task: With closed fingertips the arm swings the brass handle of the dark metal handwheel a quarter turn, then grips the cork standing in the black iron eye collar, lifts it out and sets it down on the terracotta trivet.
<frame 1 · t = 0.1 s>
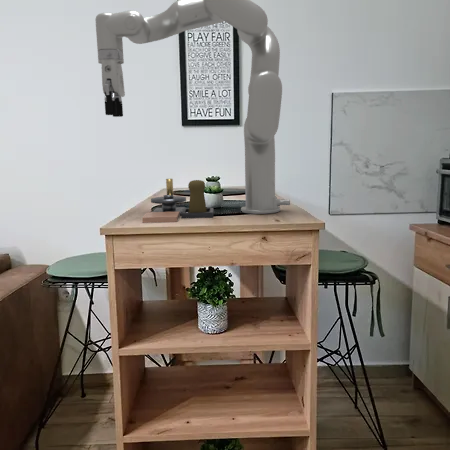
hand: (114, 115, 143), 31 cm above the table, fingers open, 9 cm apart
hub: (169, 211, 154), on the table
cork: (197, 216, 144), resting in eye collar
trivet: (162, 219, 138), on the table
handwheel: (168, 190, 152), point 7 cm above the table, hinge at 0.0°
eye collar: (197, 215, 144), on the table
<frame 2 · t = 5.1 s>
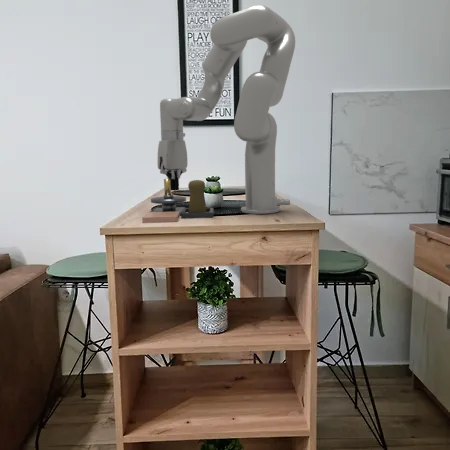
hand: (174, 190, 160), 6 cm above the table, fingers closed
handwheel: (168, 190, 152), point 7 cm above the table, hinge at 8.7°, touching gripper
everything else where it was.
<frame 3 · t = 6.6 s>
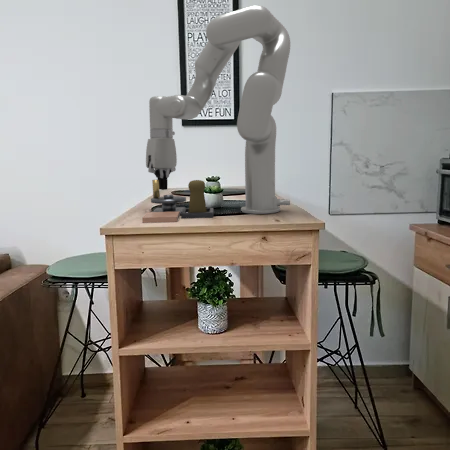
hand: (162, 189, 158), 7 cm above the table, fingers closed
handwheel: (167, 190, 152), point 7 cm above the table, hinge at 59.5°, touching gripper
everything else where it was.
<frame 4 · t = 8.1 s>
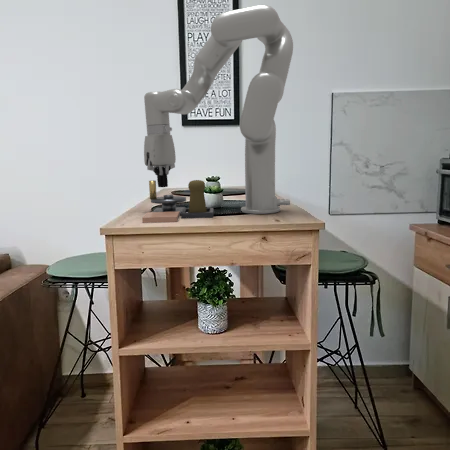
hand: (163, 186, 154), 8 cm above the table, fingers closed
handwheel: (167, 190, 152), point 7 cm above the table, hinge at 99.2°
everything else where it was.
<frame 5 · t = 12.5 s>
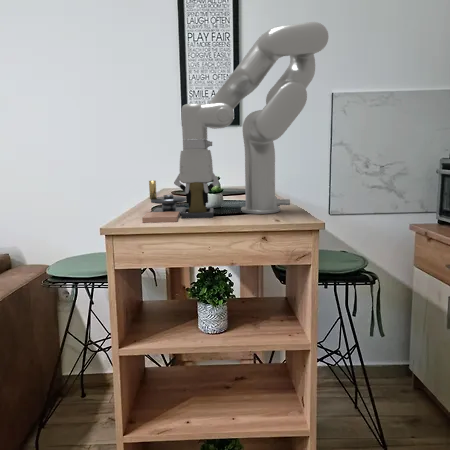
hand: (197, 204, 143), 3 cm above the table, fingers closed on cork, 4 cm apart
cork: (197, 216, 144), resting in eye collar, touching gripper
everything else where it was.
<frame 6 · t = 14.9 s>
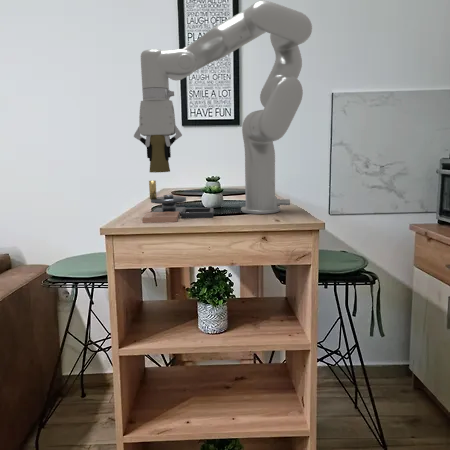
hand: (159, 159, 135), 18 cm above the table, fingers closed on cork, 4 cm apart
cork: (159, 172, 136), point 14 cm above the table, touching gripper
everything else where it was.
when the fingers open (6 cm above the table, at t = 17.2 s): cork stays where it is, resting on trivet.
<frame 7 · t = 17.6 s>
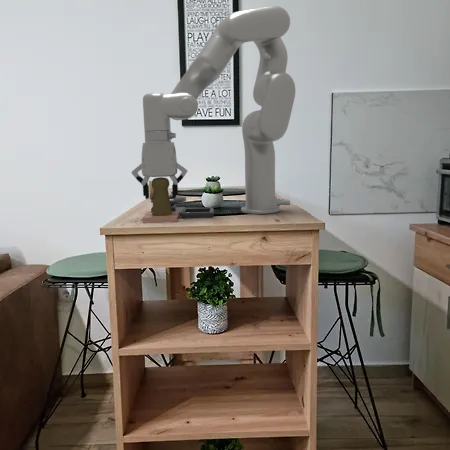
hand: (160, 197, 137), 7 cm above the table, fingers open, 7 cm apart
cork: (162, 215, 138), point 1 cm above the table, touching trivet
everything else where it was.
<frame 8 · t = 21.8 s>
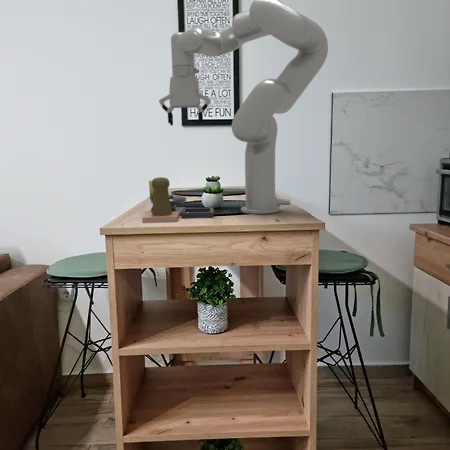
hand: (185, 124, 157), 28 cm above the table, fingers open, 9 cm apart
nothing on the table moved.
at the end: handwheel at +99° (first picture: +0°); cork inside the target area on the trivet (0.1 cm from its centre), point 1.3 cm above the trivet's base; cork tilted 0° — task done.
